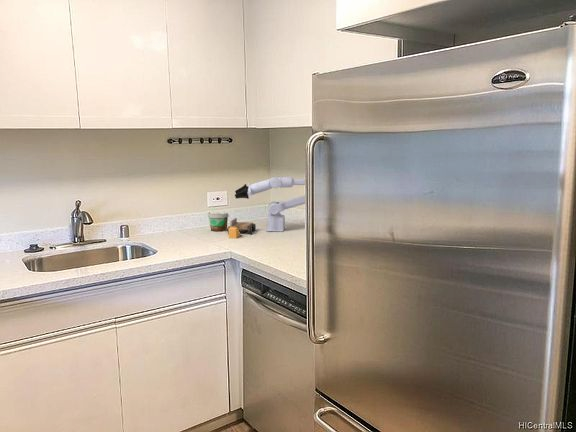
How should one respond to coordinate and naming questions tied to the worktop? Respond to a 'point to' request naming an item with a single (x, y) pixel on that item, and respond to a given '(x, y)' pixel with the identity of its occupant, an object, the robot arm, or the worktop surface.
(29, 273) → the worktop surface
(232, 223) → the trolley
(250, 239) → the worktop surface
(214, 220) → the food container
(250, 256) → the worktop surface
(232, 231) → the block
